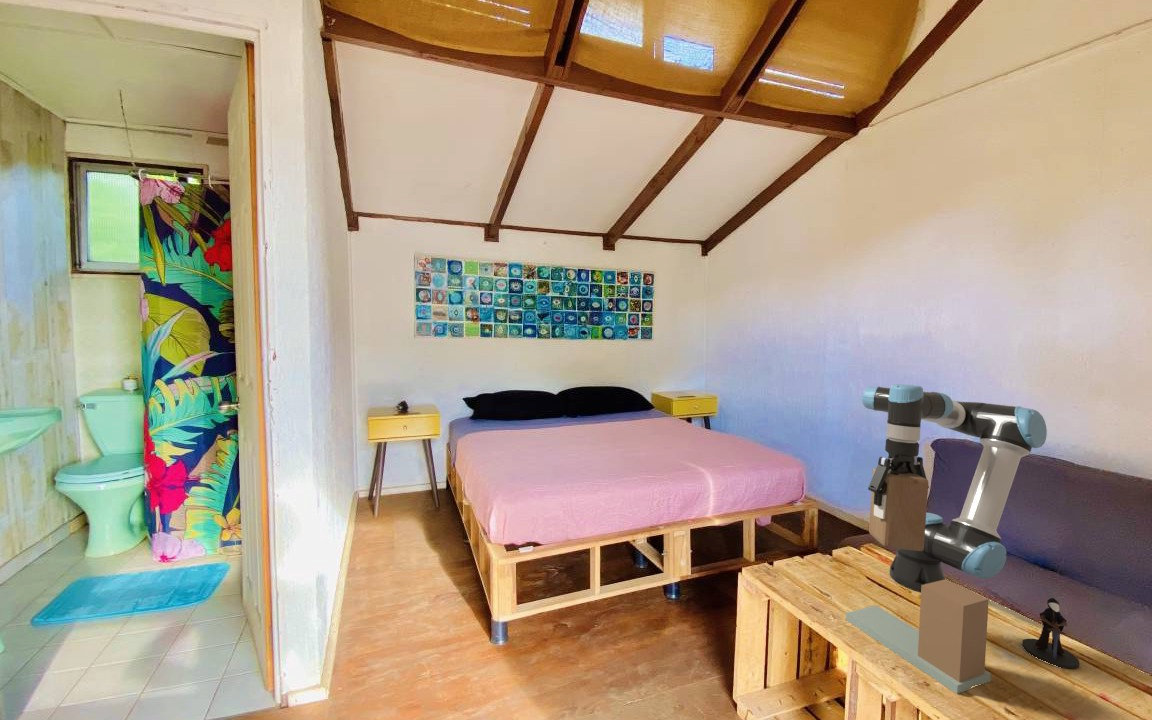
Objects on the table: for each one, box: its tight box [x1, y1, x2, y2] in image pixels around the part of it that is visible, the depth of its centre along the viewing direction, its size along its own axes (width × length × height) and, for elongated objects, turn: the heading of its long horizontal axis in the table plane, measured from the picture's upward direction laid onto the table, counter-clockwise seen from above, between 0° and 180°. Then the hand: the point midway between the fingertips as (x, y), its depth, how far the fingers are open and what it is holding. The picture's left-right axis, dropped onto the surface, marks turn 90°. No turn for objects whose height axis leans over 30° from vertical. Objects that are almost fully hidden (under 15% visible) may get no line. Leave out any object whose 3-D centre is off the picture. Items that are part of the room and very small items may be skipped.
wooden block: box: [868, 467, 929, 551], centre depth 123 cm, size 10×10×20 cm
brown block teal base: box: [845, 578, 992, 695], centre depth 115 cm, size 12×28×20 cm, turn 19°
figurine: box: [1021, 597, 1081, 670], centre depth 113 cm, size 10×10×15 cm
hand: (896, 515), depth 123 cm, fingers closed on wooden block, 13 cm apart
